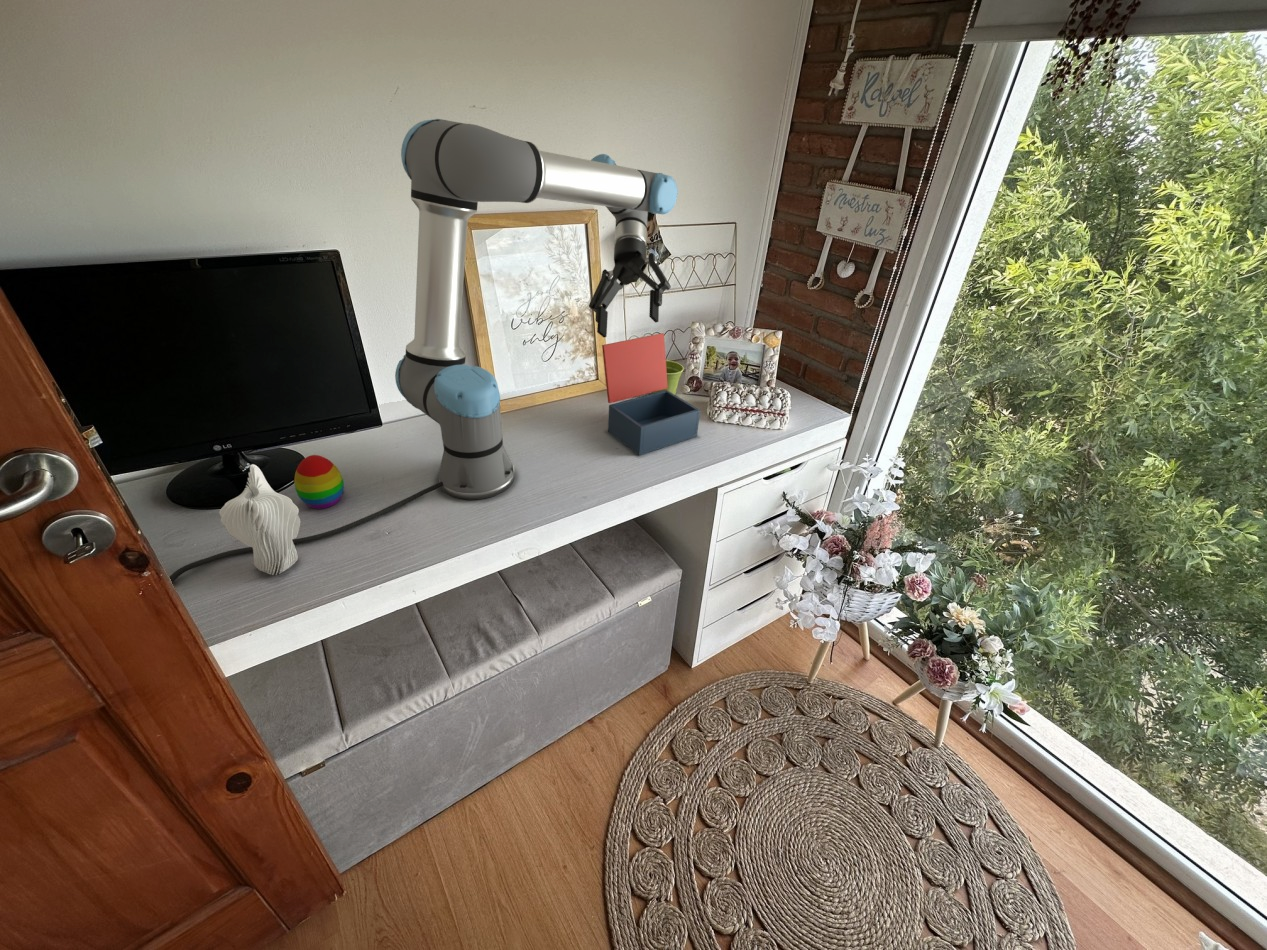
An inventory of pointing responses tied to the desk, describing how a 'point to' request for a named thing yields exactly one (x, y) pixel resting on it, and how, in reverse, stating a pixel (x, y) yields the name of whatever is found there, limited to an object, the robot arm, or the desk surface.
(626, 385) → the lid
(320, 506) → the decorative egg
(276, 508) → the shell sculpture
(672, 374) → the plant pot
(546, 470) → the desk surface
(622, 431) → the box
